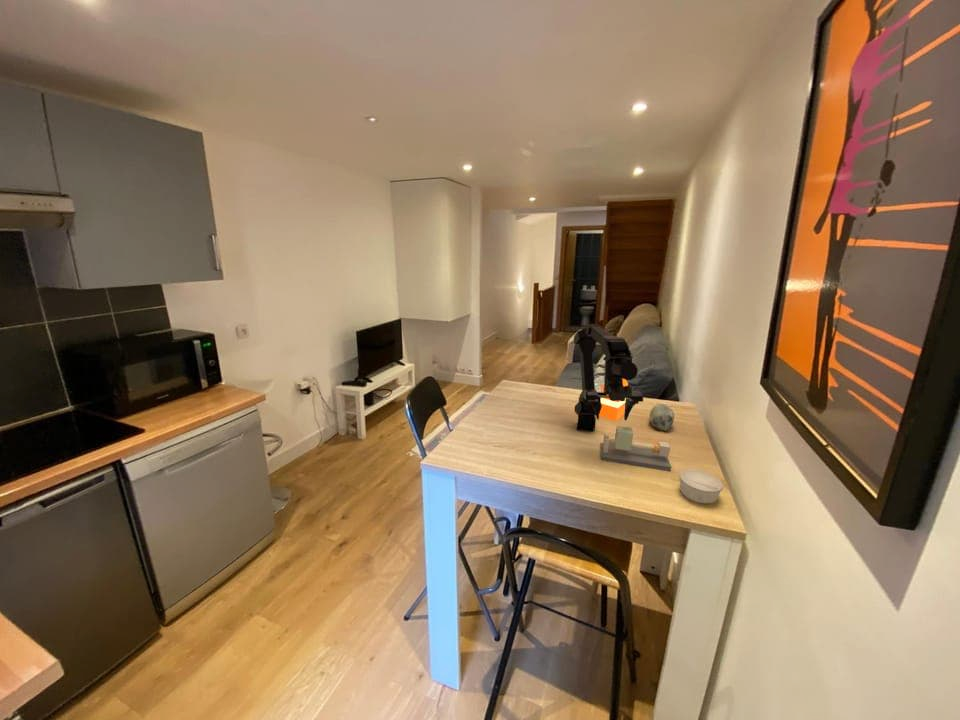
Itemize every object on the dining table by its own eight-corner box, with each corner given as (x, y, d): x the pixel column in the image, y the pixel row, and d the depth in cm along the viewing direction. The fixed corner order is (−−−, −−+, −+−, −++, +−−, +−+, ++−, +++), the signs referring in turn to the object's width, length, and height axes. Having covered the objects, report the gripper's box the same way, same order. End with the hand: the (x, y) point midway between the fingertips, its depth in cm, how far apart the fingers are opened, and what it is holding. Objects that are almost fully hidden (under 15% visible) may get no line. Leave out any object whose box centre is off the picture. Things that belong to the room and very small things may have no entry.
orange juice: (598, 415, 164) (603, 372, 159) (606, 409, 171) (612, 367, 165) (616, 421, 159) (622, 376, 154) (624, 414, 166) (630, 371, 160)
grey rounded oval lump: (678, 428, 146) (669, 403, 148) (653, 434, 151) (644, 410, 152) (678, 423, 159) (669, 400, 160) (655, 428, 163) (646, 406, 164)
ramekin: (689, 506, 107) (692, 490, 105) (669, 483, 118) (672, 468, 116) (728, 507, 107) (732, 491, 105) (705, 483, 118) (708, 468, 116)
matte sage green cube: (615, 448, 130) (617, 431, 128) (614, 442, 134) (616, 425, 132) (630, 450, 128) (633, 433, 127) (629, 444, 133) (631, 427, 131)
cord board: (600, 460, 129) (602, 442, 128) (599, 446, 139) (601, 429, 137) (670, 471, 124) (673, 452, 122) (664, 455, 133) (668, 438, 131)
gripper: (589, 378, 121) (587, 425, 123) (649, 379, 119) (647, 427, 121) (583, 373, 132) (582, 416, 134) (639, 374, 130) (637, 418, 132)
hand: (611, 419), depth 130 cm, fingers open, 9 cm apart
